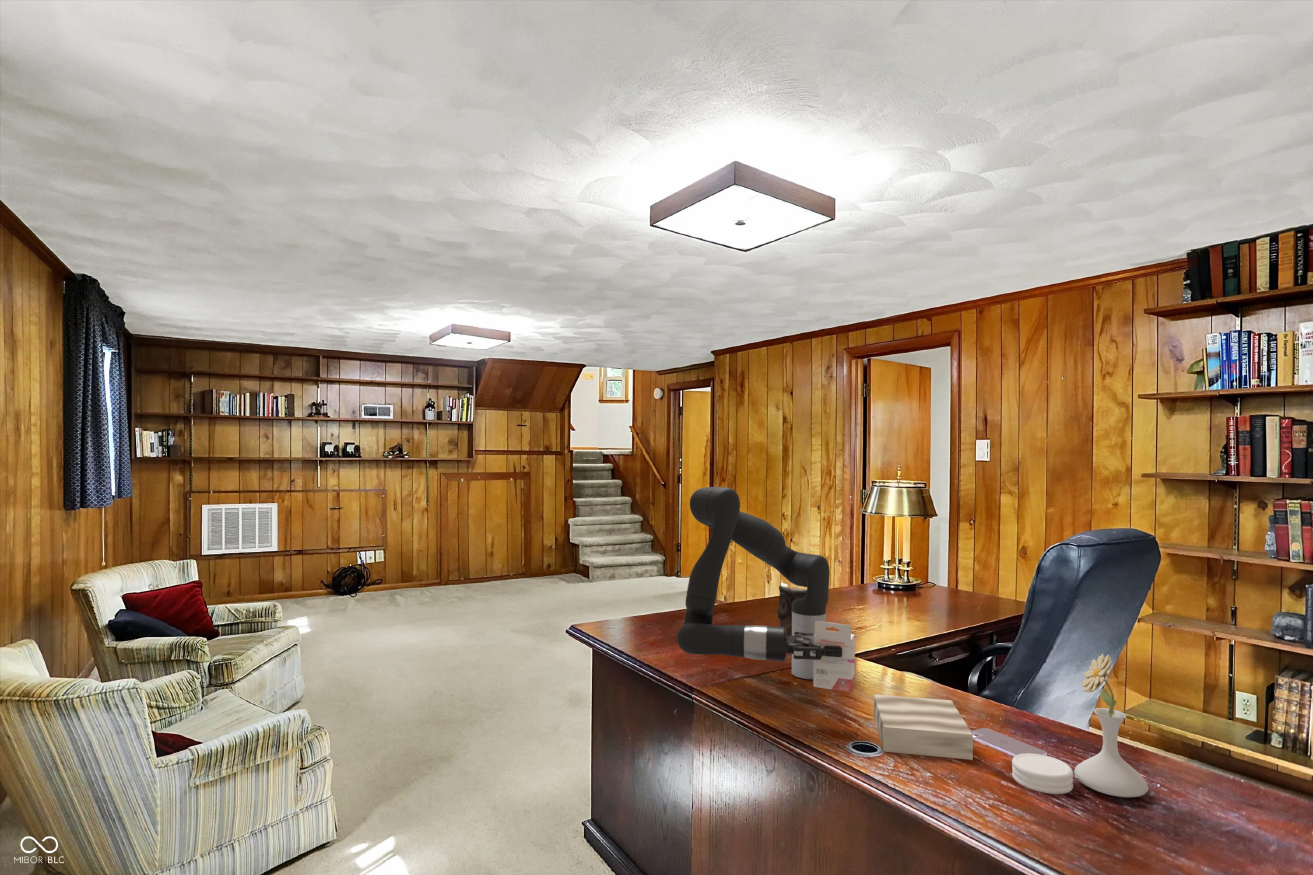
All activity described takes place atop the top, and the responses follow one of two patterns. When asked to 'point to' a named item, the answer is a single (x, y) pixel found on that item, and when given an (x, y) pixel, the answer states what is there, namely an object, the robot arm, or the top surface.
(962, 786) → the top surface
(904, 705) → the plinth
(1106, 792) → the flower in vase
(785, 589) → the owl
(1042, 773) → the coaster
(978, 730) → the mobile phone
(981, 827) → the top surface
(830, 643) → the ink cartridge box
